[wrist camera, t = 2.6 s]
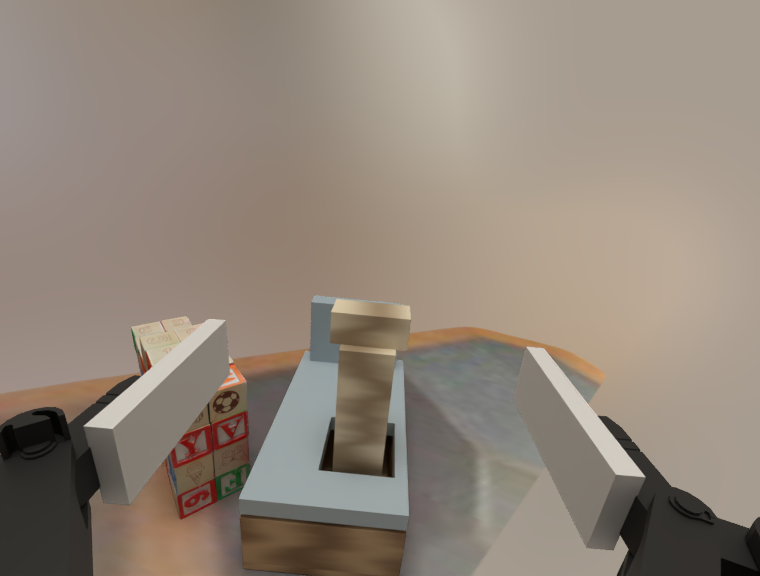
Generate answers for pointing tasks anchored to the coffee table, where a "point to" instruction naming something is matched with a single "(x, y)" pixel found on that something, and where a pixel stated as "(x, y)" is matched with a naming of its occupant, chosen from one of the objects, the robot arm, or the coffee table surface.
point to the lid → (308, 445)
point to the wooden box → (323, 540)
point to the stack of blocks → (201, 427)
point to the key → (365, 380)
